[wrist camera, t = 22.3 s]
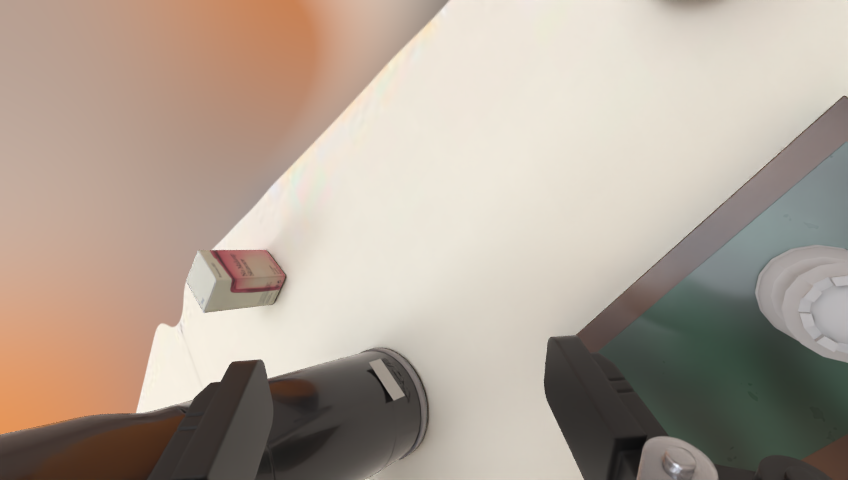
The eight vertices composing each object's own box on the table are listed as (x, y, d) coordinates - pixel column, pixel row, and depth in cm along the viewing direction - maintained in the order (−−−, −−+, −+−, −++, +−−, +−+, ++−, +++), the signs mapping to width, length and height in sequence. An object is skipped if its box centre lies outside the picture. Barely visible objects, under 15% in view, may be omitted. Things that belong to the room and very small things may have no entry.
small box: (287, 276, 46) (216, 280, 40) (273, 305, 48) (202, 314, 42) (266, 248, 49) (196, 248, 43) (253, 277, 50) (184, 281, 44)
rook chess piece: (731, 290, 21) (727, 309, 15) (813, 224, 19) (849, 213, 13) (819, 362, 19) (858, 420, 13) (920, 297, 17) (1023, 325, 11)
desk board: (708, 534, 23) (706, 555, 22) (554, 357, 29) (543, 363, 27) (1170, 289, 15) (1221, 294, 14) (836, 105, 20) (844, 93, 19)
